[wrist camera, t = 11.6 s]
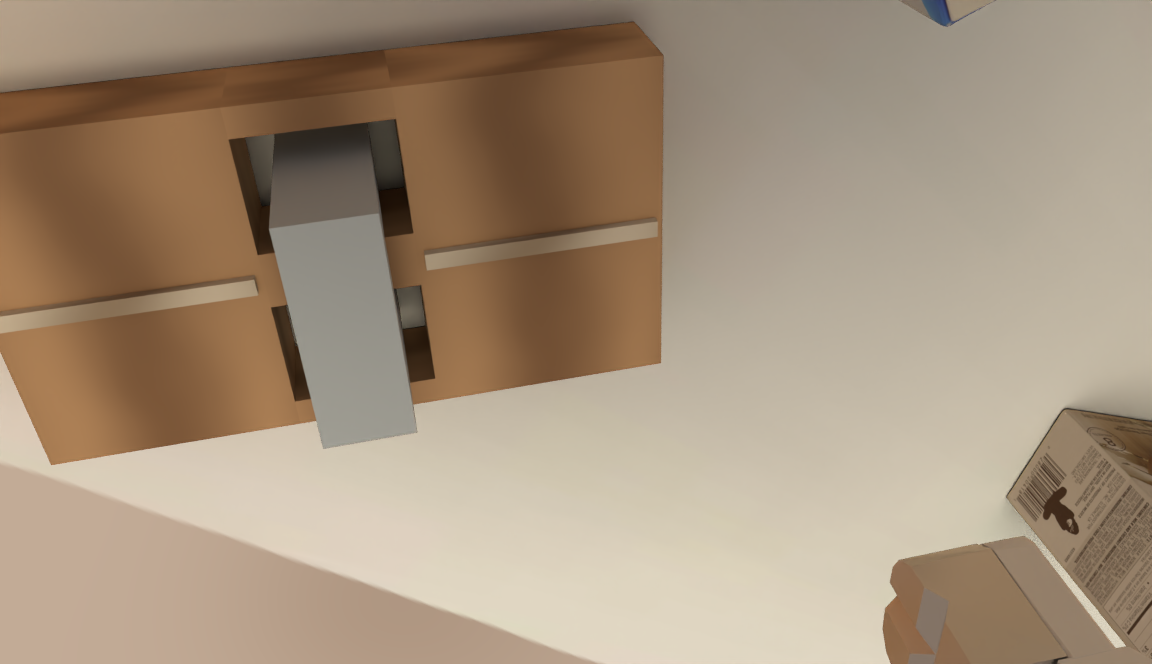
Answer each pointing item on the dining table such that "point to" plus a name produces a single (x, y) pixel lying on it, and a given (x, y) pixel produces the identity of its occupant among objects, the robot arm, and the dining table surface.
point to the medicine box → (946, 9)
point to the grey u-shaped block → (340, 283)
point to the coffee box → (1097, 514)
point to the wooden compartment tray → (409, 215)
